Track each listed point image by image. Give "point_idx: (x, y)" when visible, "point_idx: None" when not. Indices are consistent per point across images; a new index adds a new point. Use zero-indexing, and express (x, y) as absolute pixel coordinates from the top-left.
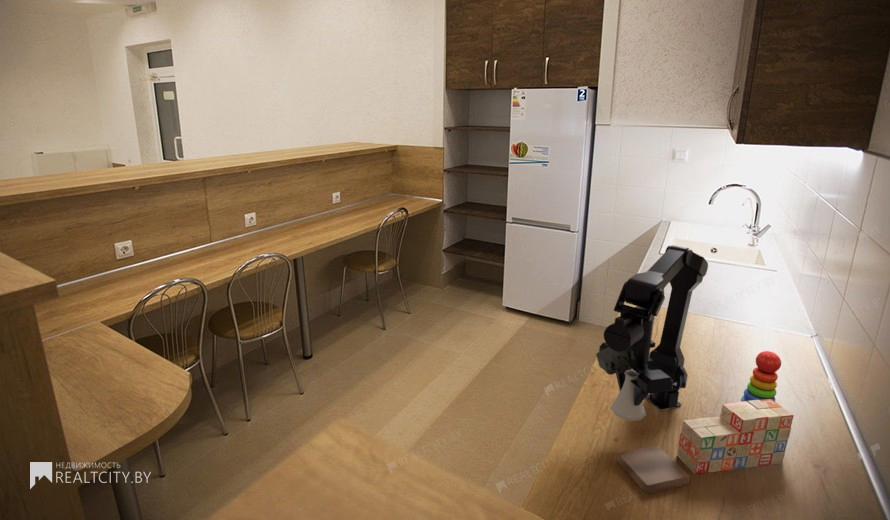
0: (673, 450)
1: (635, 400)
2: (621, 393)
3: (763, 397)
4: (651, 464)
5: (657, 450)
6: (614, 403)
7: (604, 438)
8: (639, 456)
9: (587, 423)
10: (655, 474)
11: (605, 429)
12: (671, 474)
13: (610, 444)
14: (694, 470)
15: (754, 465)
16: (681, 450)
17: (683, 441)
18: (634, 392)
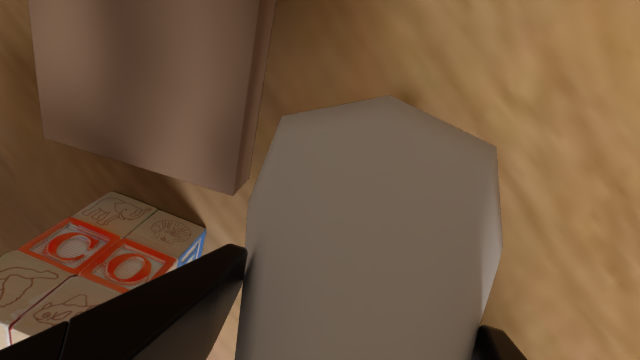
0: (234, 244)
1: (182, 272)
2: (409, 282)
3: None
4: (137, 55)
5: (205, 166)
6: (463, 175)
7: (452, 56)
8: (201, 52)
9: (618, 78)
10: (74, 9)
11: (502, 125)
12: (61, 78)
13: (397, 44)
14: (103, 196)
15: None
16: (166, 241)
17: (137, 270)
18: (121, 355)
